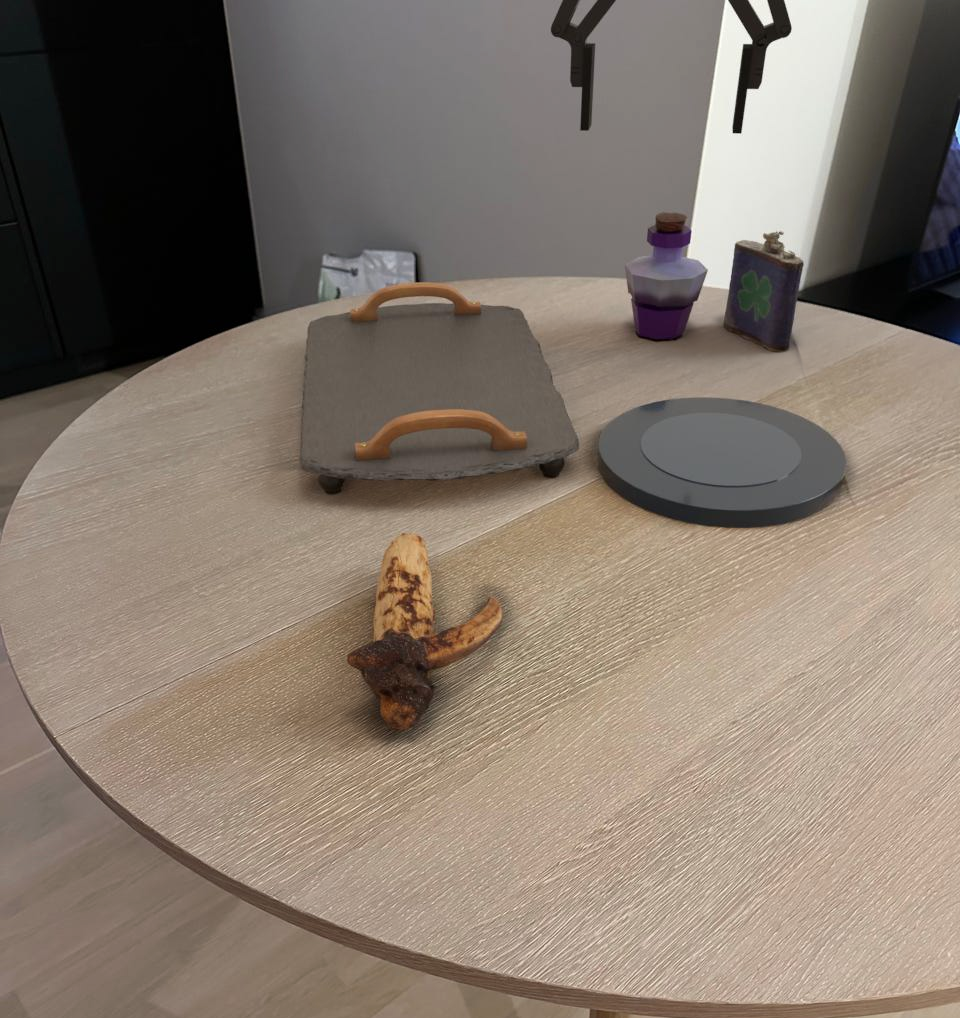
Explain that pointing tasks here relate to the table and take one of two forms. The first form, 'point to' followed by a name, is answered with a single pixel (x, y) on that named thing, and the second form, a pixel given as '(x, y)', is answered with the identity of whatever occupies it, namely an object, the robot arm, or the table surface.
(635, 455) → the plate
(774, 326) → the flask
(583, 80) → the robot arm
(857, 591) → the table surface
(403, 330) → the serving tray
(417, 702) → the bone fish hook
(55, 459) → the table surface
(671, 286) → the potion bottle
